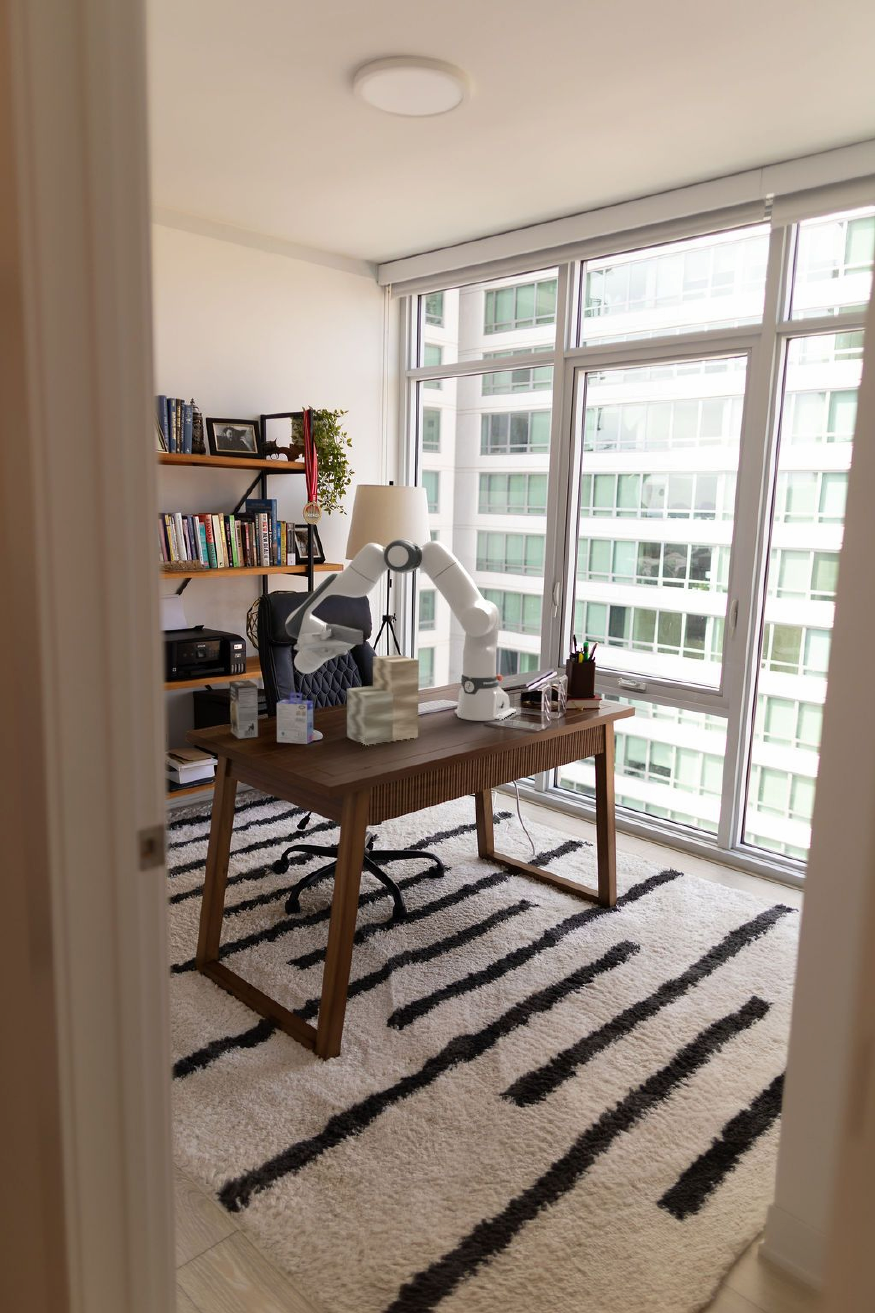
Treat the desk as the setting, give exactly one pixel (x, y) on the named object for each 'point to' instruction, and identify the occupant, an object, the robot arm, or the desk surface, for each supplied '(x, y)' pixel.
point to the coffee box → (243, 709)
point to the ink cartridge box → (295, 720)
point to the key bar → (346, 634)
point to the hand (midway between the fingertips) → (337, 631)
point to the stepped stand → (385, 702)
